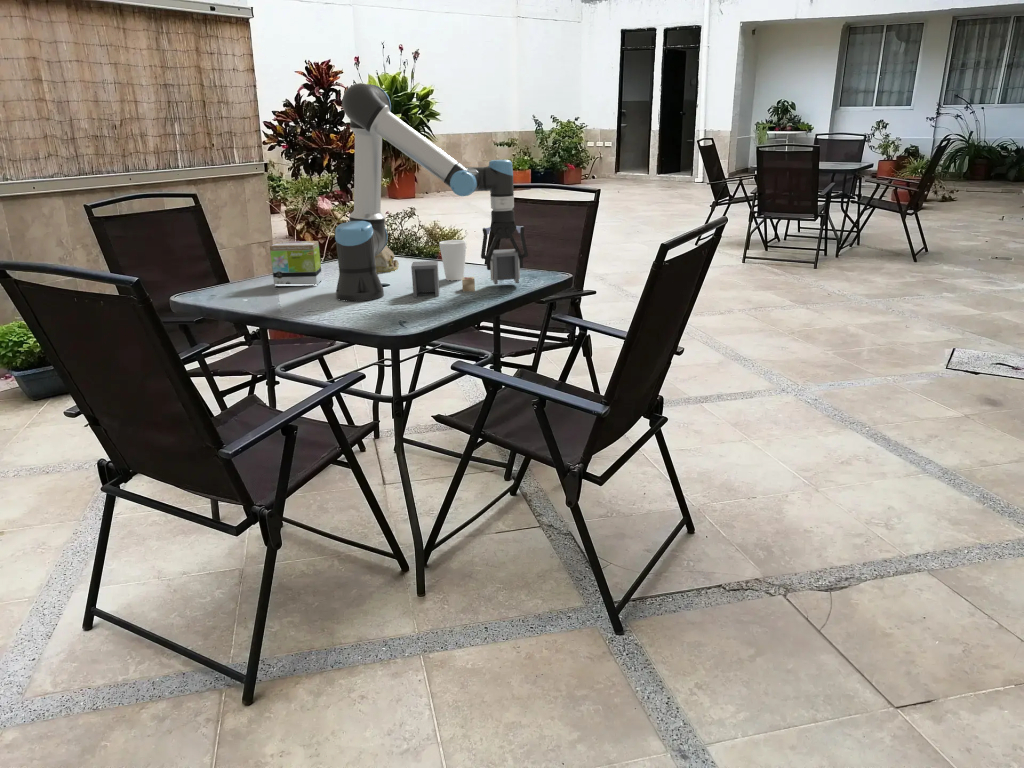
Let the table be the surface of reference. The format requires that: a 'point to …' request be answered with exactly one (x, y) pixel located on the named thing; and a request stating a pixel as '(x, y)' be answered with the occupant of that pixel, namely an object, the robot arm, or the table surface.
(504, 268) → the far cover
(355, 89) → the robot arm
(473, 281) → the letter cube
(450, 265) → the foam cup
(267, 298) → the table surface
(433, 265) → the near cover
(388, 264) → the ceramic model
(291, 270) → the tea box
